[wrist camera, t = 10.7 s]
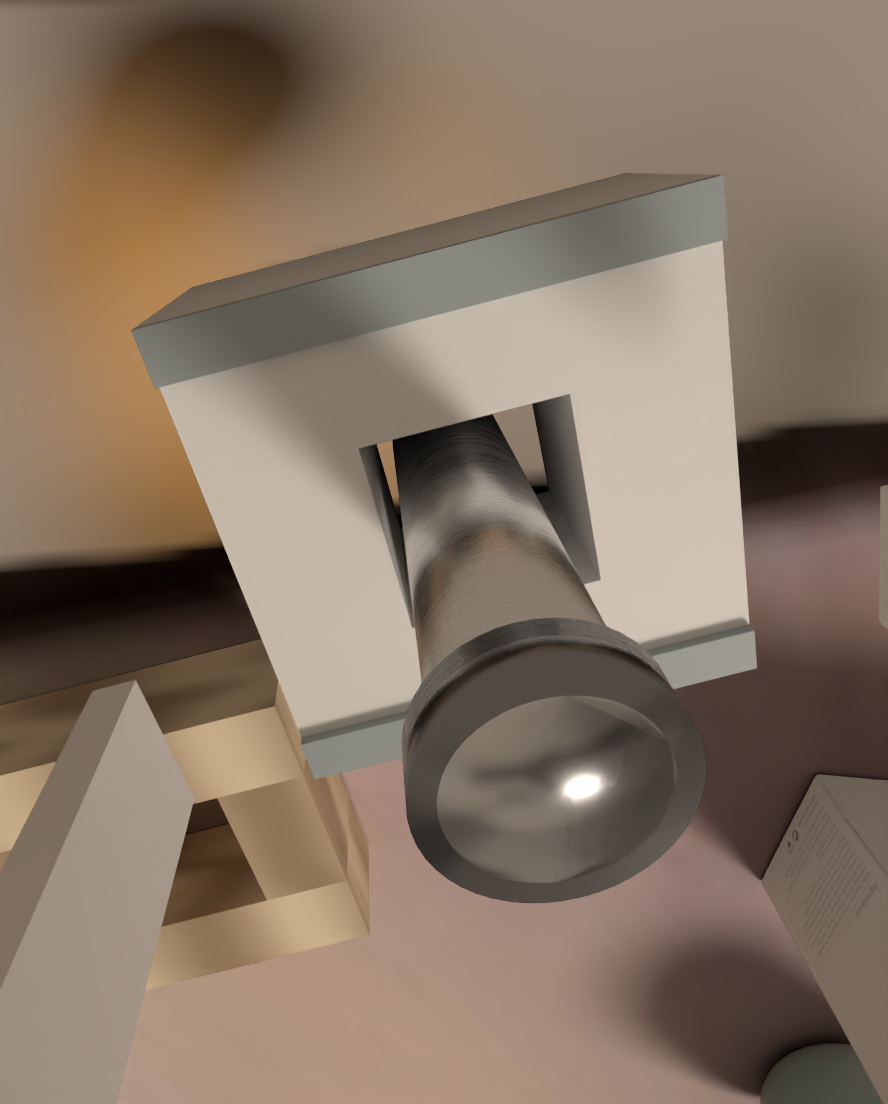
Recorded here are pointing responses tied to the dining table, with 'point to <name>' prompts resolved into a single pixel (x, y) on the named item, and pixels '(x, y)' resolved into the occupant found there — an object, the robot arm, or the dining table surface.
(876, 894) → the skincare box
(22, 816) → the mount
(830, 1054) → the cup
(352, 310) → the socket
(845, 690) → the dining table surface
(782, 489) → the dining table surface
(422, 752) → the pin
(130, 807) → the robot arm
